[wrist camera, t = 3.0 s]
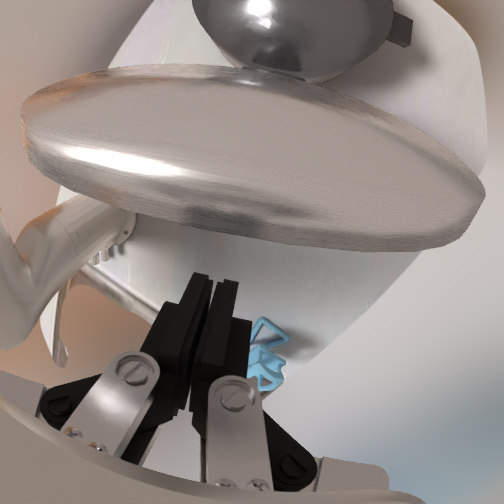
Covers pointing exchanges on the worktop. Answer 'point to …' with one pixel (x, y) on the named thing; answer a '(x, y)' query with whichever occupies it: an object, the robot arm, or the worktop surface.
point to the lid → (250, 157)
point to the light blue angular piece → (266, 358)
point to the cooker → (301, 33)
